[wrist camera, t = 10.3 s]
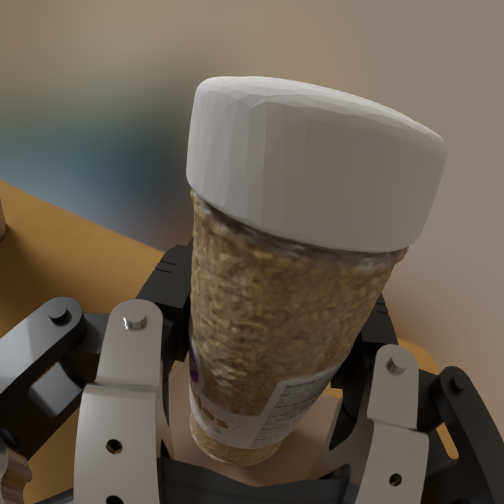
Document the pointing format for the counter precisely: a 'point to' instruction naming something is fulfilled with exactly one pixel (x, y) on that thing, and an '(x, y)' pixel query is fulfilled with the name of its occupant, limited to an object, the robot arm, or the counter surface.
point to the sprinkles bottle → (290, 246)
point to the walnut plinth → (270, 470)
